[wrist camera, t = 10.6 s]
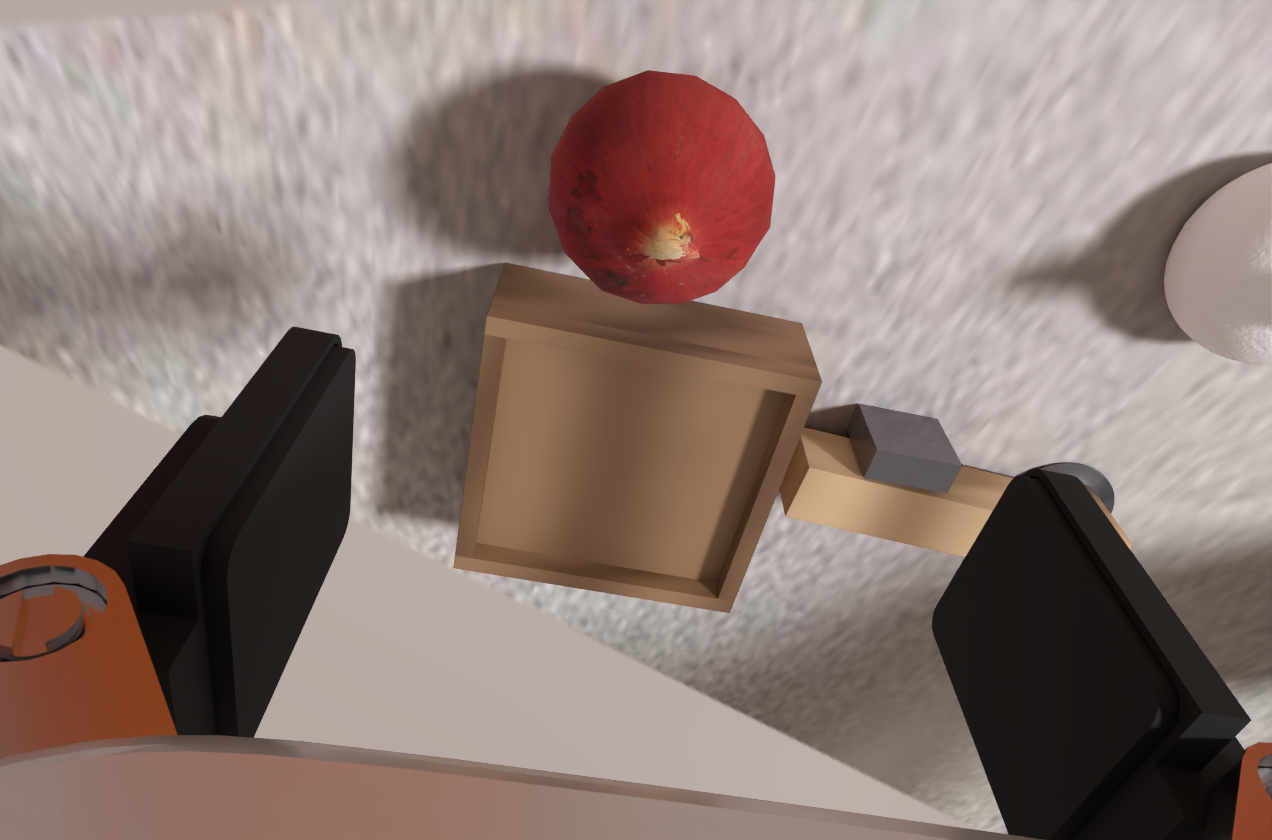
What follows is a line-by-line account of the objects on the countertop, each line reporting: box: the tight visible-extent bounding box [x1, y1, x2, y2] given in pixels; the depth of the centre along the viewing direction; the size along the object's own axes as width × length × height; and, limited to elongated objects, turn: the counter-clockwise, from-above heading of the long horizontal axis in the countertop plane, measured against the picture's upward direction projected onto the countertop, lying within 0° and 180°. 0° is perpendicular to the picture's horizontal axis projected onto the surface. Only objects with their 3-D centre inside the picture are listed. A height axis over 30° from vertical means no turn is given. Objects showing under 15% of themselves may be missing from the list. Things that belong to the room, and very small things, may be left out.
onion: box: [549, 70, 775, 304], centre depth 22 cm, size 6×6×8 cm
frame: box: [847, 404, 1114, 514], centre depth 30 cm, size 11×5×4 cm, turn 78°
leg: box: [779, 427, 1131, 557], centre depth 30 cm, size 13×3×2 cm, turn 74°
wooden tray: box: [453, 263, 822, 613], centre depth 29 cm, size 10×10×4 cm
